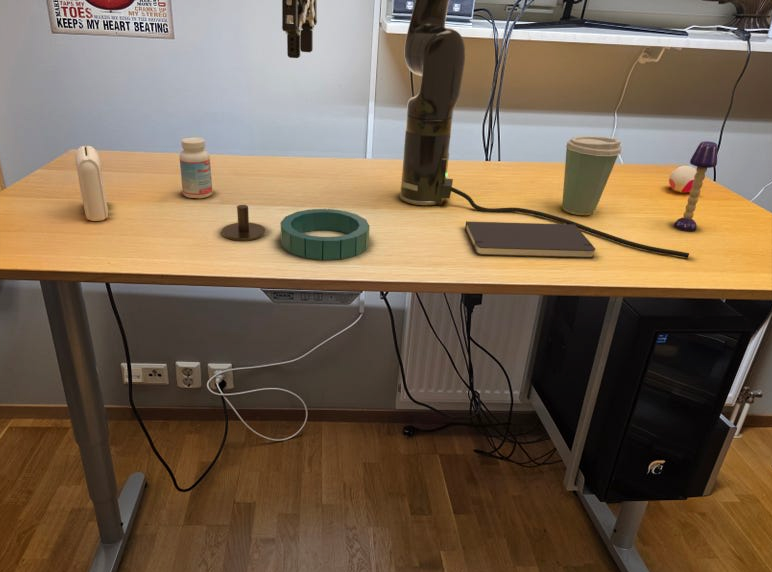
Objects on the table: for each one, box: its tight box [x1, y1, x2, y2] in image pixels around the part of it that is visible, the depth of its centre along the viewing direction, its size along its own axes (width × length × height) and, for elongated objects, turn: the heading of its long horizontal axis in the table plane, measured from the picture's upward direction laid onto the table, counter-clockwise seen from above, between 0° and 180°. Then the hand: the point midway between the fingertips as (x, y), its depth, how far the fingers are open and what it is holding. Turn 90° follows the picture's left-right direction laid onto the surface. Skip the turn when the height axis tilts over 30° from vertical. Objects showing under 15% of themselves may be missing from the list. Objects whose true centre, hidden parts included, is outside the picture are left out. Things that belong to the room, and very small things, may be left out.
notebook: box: [464, 221, 596, 259], centre depth 121 cm, size 13×2×21 cm
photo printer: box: [74, 145, 109, 222], centre depth 123 cm, size 10×4×12 cm, turn 20°
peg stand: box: [221, 204, 267, 242], centre depth 119 cm, size 8×8×5 cm
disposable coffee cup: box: [561, 135, 622, 216], centre depth 134 cm, size 11×11×15 cm
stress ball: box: [668, 165, 697, 194], centre depth 151 cm, size 8×8×7 cm
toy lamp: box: [673, 140, 718, 232], centre depth 127 cm, size 5×5×17 cm
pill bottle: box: [178, 136, 213, 199], centre depth 135 cm, size 6×6×11 cm
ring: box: [279, 208, 370, 261], centre depth 117 cm, size 16×16×4 cm
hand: (300, 54), depth 121 cm, fingers open, 8 cm apart
